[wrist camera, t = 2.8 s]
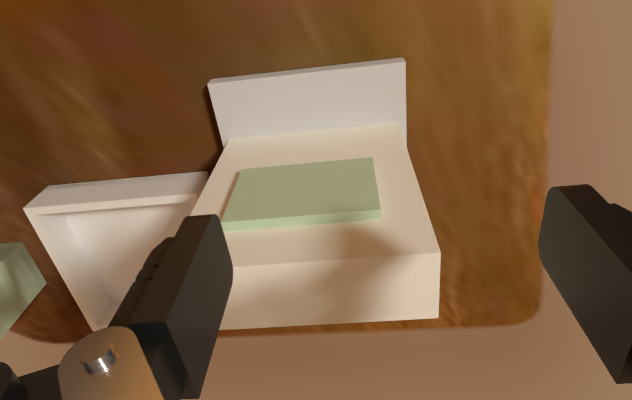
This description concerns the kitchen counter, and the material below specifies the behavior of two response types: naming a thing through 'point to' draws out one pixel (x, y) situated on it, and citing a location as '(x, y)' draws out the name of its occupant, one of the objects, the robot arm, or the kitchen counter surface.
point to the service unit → (320, 198)
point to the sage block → (16, 283)
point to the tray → (110, 232)
